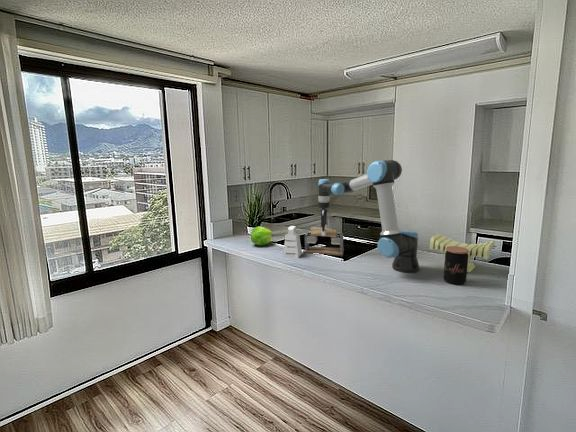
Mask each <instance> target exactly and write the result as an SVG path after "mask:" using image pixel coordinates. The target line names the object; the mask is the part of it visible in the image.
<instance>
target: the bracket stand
mask: <svg viewBox="0 0 576 432" xmlns="http://www.w3.org/2000/svg"><path fill="white" fill-rule="evenodd" d="M330 240H331V241H330V243H331V245H339V247H322V246H321V247H320V246H310V244H317V241H318V236H314V235H311V233H310V232H309V231H306V232H305V233H304V249H303V254H307V255H308V254H309V255H310V254H311V255H314V254H313V253H319V254H318V255H324V254H327V255H328V256H329V255H331V256H344V251H345V248H344V233H343V232H342V233H341V232H340V234H337V236H336V237H330Z"/></svg>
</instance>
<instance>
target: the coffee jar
mask: <svg viewBox="0 0 576 432" xmlns="http://www.w3.org/2000/svg"><path fill="white" fill-rule="evenodd" d="M468 252H469V250H468V249H466V248H463V247H458V246H449V247H446V253H445V256H444V267H443V279H444V282H446V283H447V284H450V285H453V286H463V285H465V283H467V277H468V276H467V275H468V274H467V273H468V272H467V266H468V254H467V253H468Z"/></svg>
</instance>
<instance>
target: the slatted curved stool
mask: <svg viewBox="0 0 576 432" xmlns="http://www.w3.org/2000/svg"><path fill="white" fill-rule="evenodd" d="M495 241H496V240H495V239H494V240H491V241H490V242H489V241H487V242H484V243H483V242H481V243H473V244H472V243H470V244H469V243H464V242H459V241H457V240H453V239H452V238H450V237H448V236H446V235H443V233H442V232H440V231H439V232H438V233H436V234H434V235H433V236H431V238H430V241H429V250H437V251H438V250H439V252H441V253H442V254H443V253H444V257H445V253H446V247H449V246H458V247H463V248H466V249H468V250H469V252H468V253H467V254H468V266H467V273H471V271H473V270H474V269H475V268H476V266H475V262H474V263H473V262H470V261H471V260H472V258H476V257H477V258H482V259H484V260H489V258H490V254H491V251H492V248H493V247H494V246H495V244H496V243H495Z"/></svg>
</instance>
